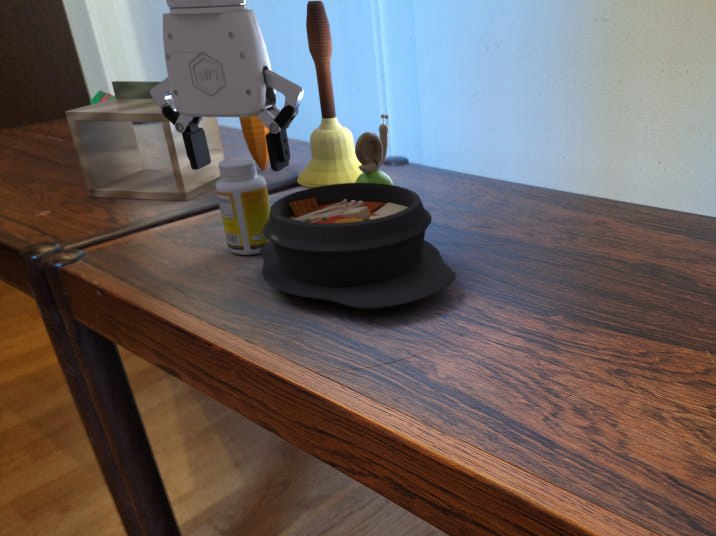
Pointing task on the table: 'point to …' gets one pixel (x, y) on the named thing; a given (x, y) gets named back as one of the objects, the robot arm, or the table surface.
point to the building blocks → (102, 97)
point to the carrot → (256, 139)
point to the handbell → (327, 114)
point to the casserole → (353, 246)
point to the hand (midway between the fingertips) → (240, 167)
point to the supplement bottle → (243, 205)
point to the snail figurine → (373, 155)
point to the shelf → (121, 153)
